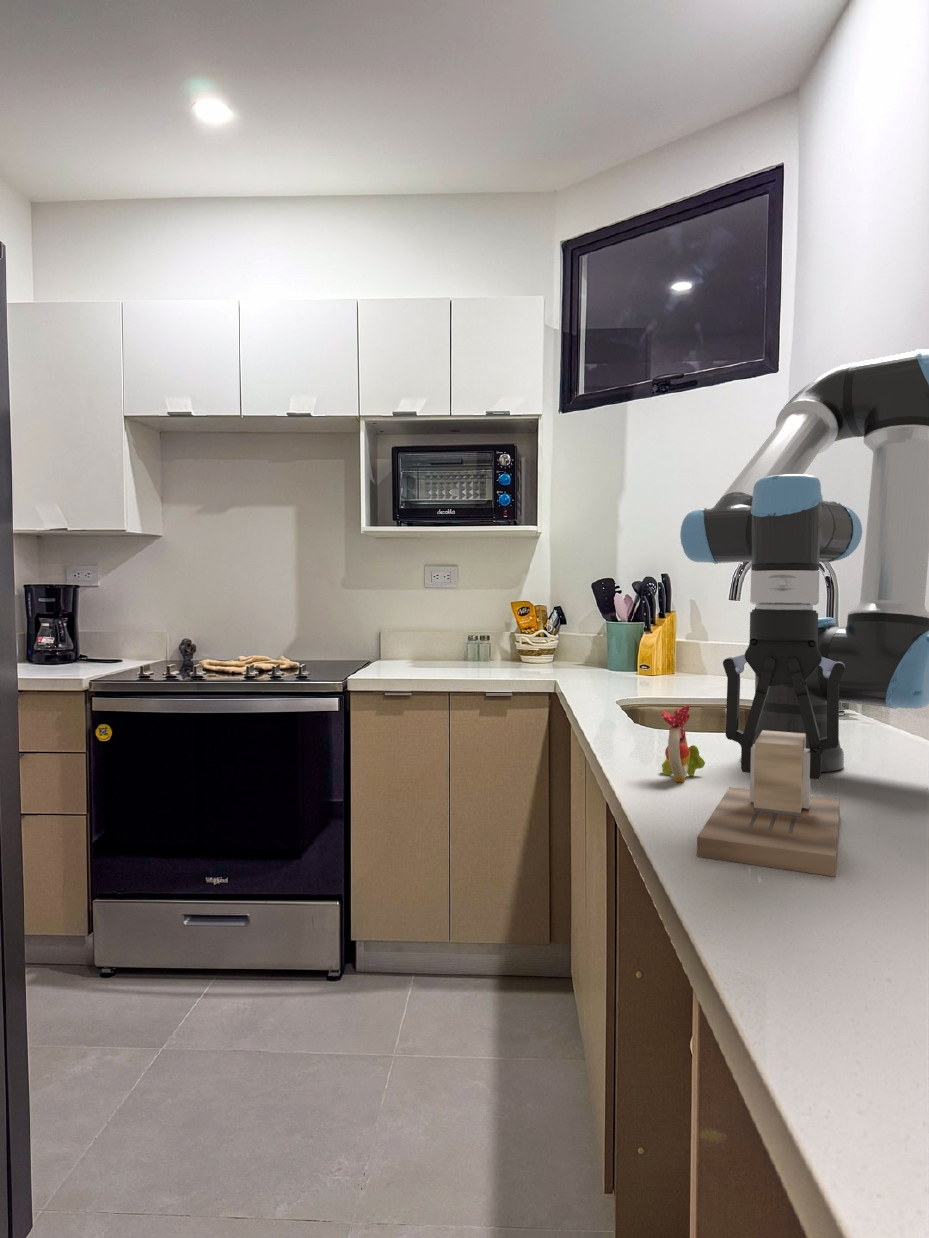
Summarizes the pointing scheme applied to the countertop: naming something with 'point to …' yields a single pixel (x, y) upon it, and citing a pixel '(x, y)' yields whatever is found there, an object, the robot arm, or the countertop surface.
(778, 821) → the walnut board
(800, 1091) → the countertop surface
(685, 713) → the bird rattle
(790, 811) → the block
